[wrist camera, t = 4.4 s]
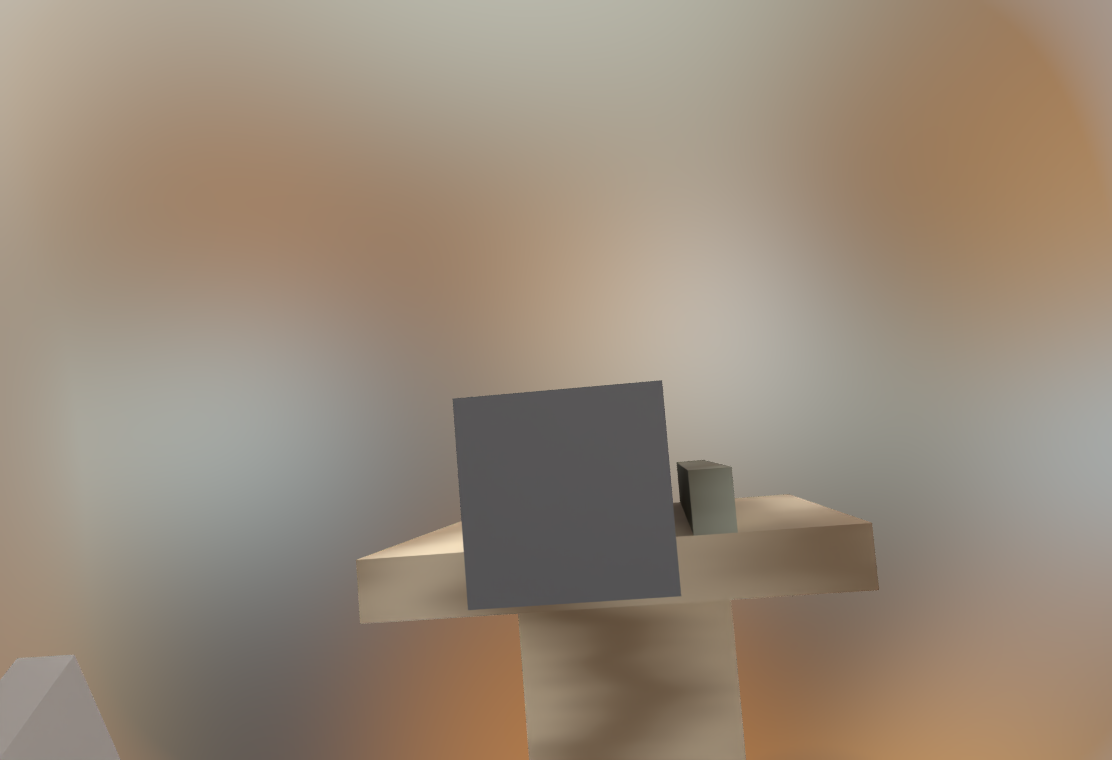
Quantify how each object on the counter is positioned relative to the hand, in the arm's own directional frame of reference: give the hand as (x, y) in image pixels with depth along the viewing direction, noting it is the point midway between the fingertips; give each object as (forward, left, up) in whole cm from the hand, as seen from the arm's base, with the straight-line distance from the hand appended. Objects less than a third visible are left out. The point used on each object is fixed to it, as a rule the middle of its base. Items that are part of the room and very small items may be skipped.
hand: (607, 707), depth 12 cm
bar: (-1, +14, +1) cm, 14 cm away
